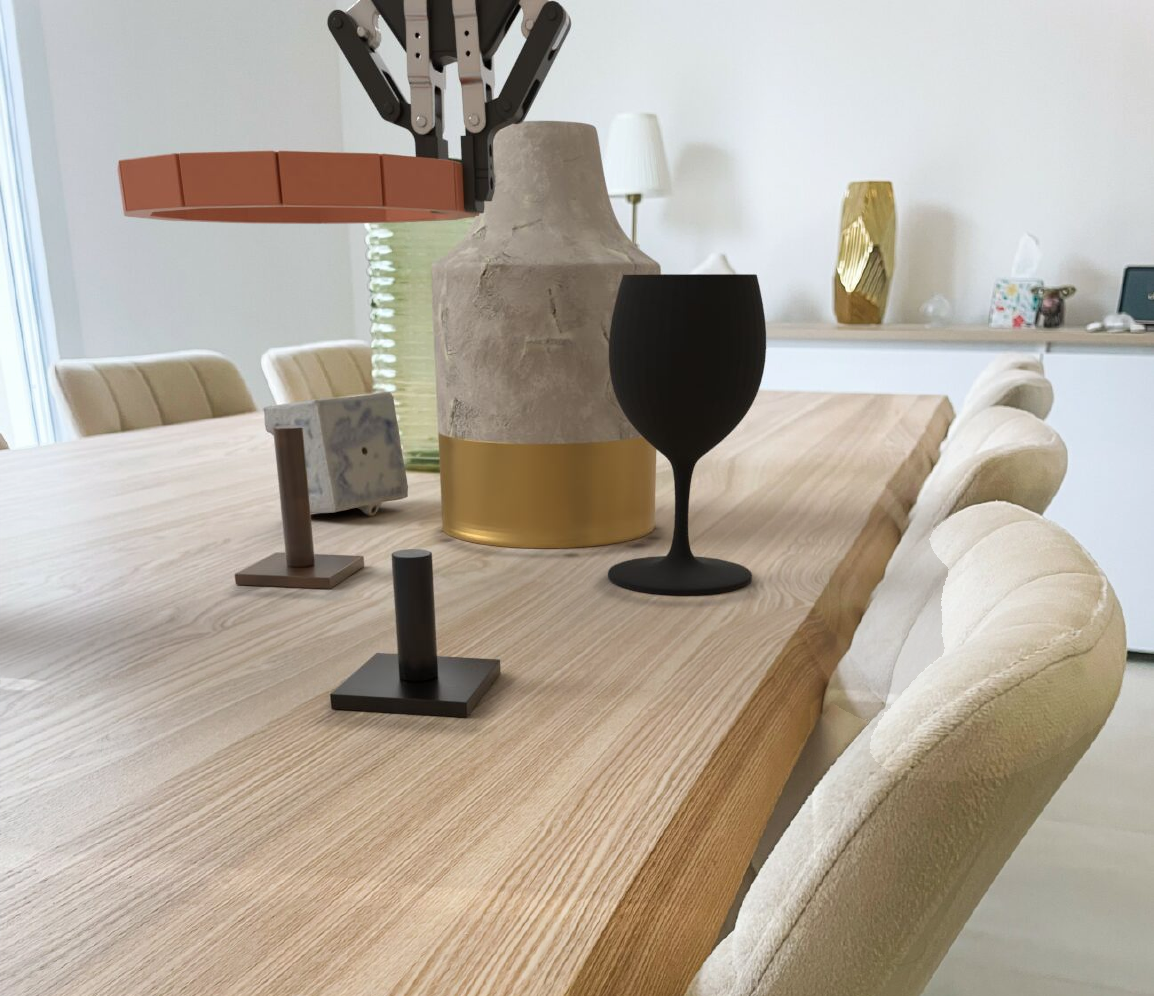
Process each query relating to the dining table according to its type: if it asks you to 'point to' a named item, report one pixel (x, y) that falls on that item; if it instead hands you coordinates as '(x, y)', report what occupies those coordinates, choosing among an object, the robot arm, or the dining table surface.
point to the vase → (538, 355)
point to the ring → (291, 187)
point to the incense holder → (347, 450)
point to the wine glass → (685, 397)
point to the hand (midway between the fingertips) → (457, 211)
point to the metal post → (416, 657)
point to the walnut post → (296, 528)
